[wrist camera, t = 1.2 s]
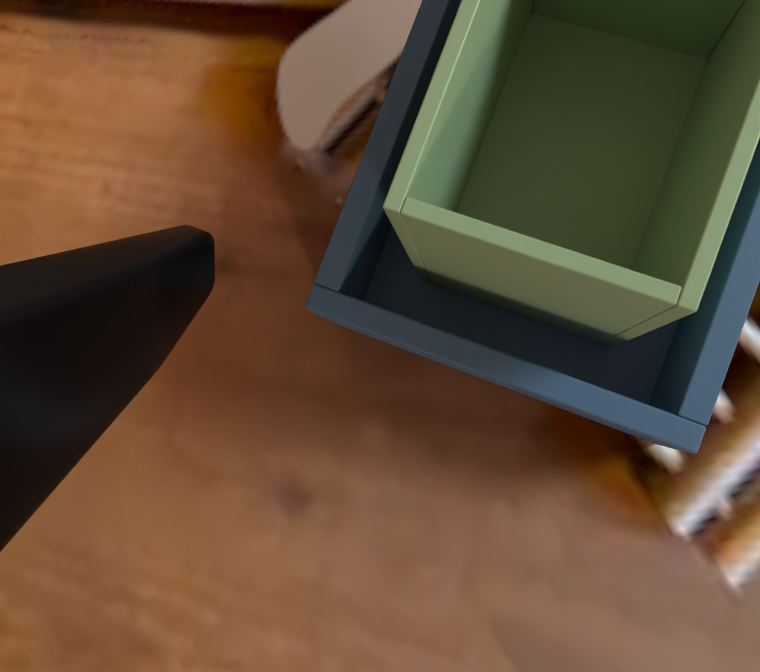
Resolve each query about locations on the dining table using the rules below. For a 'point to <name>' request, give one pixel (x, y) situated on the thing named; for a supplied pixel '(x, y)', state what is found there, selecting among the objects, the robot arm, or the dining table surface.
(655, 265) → the caddy
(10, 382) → the robot arm
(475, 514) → the dining table surface
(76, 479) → the dining table surface
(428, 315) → the box
